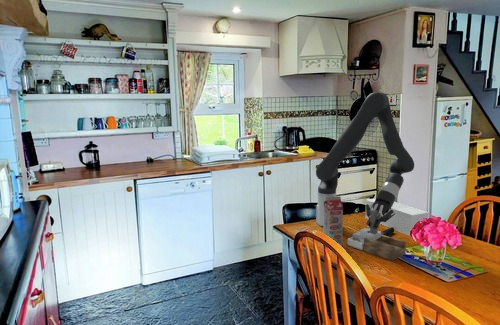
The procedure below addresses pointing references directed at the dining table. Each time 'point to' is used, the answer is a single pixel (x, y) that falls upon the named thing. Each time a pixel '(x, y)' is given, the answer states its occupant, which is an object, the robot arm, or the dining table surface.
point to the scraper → (373, 233)
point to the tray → (355, 244)
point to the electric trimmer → (388, 232)
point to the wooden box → (385, 247)
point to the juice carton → (333, 218)
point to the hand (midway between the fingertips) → (371, 227)
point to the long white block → (402, 217)
